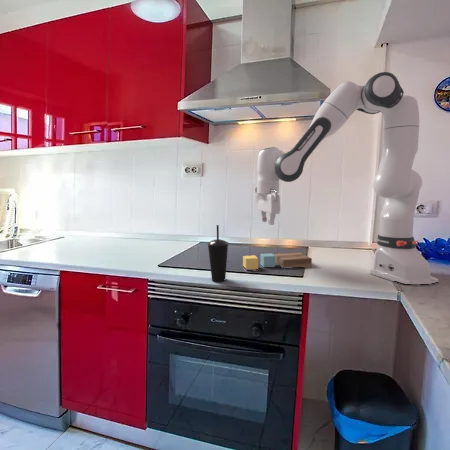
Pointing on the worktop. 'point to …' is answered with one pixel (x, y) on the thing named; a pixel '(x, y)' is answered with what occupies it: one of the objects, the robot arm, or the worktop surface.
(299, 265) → the walnut base
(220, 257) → the drinking cup
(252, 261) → the mustard cube
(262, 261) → the teal cube
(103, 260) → the worktop surface
